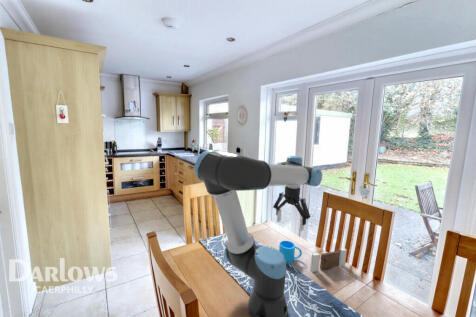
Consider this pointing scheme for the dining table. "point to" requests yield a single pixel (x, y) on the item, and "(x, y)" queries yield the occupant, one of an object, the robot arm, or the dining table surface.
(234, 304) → the dining table surface
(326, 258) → the dark brown rectangular slab
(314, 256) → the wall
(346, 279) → the dining table surface
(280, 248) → the mug
